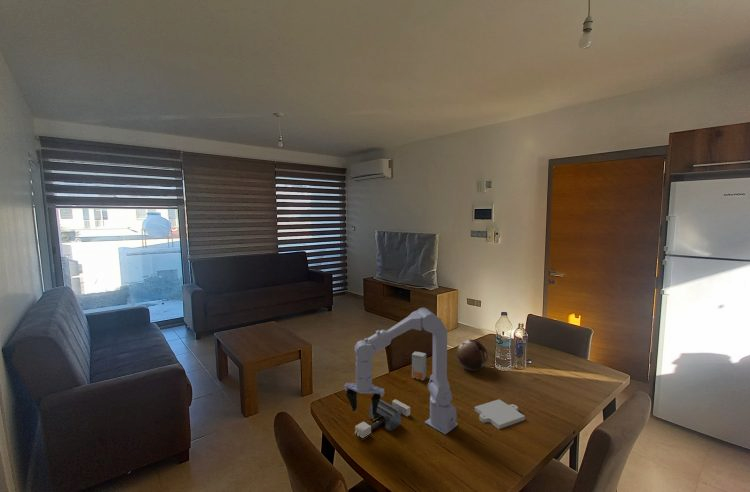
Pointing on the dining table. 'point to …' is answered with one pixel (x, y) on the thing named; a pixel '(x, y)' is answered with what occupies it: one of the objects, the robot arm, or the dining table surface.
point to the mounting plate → (499, 413)
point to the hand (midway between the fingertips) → (364, 411)
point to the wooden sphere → (472, 355)
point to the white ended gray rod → (365, 429)
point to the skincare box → (419, 365)
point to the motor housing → (387, 414)
